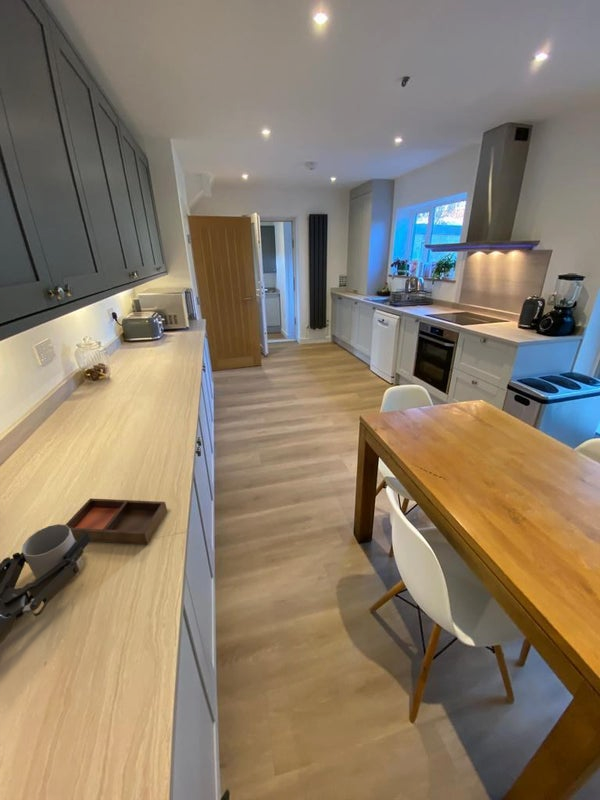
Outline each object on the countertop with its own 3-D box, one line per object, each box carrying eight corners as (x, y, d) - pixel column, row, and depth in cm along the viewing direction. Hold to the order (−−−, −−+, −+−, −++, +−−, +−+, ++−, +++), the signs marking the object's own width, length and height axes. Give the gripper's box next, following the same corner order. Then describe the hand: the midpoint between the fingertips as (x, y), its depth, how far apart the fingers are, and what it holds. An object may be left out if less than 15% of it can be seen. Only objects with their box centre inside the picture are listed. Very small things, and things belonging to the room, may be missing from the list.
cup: (55, 594, 68) (39, 561, 63) (29, 582, 70) (11, 549, 66) (91, 561, 75) (79, 529, 71) (66, 551, 77) (53, 520, 73)
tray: (64, 540, 80) (60, 529, 79) (93, 508, 91) (90, 498, 89) (147, 544, 79) (144, 534, 78) (167, 511, 89) (165, 501, 88)
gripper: (-78, 652, 56) (30, 544, 76) (38, 661, 55) (116, 549, 75) (-100, 626, 53) (18, 521, 73) (22, 635, 51) (108, 525, 72)
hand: (68, 535), depth 74 cm, fingers closed on cup, 8 cm apart
